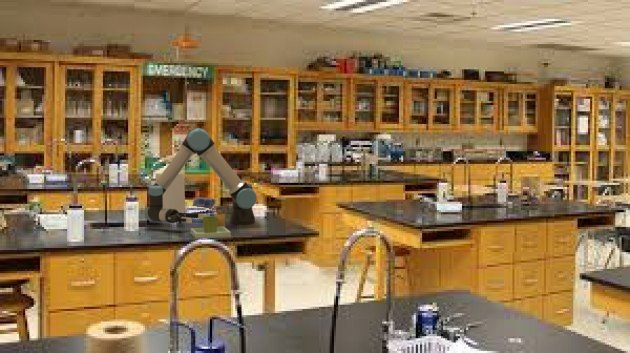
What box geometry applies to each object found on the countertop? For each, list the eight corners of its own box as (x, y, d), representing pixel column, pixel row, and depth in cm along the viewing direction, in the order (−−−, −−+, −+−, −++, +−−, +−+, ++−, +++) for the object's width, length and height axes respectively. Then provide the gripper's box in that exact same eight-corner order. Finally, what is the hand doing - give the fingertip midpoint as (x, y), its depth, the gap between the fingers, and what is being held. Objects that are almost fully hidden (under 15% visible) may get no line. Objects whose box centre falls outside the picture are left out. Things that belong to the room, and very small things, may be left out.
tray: (223, 232, 375) (223, 226, 375) (230, 237, 358) (230, 232, 358) (190, 233, 369) (190, 228, 369) (196, 239, 352) (196, 233, 352)
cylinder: (182, 221, 412) (181, 174, 410) (153, 220, 412) (152, 174, 410) (187, 216, 429) (187, 171, 427) (160, 216, 430) (159, 171, 427)
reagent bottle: (223, 229, 384) (223, 205, 383) (226, 230, 379) (226, 207, 377) (213, 229, 382) (213, 206, 381) (215, 231, 377) (215, 207, 375)
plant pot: (212, 231, 371) (212, 215, 370) (223, 234, 364) (223, 217, 364) (198, 234, 364) (197, 217, 363) (209, 236, 358) (208, 219, 357)
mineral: (196, 214, 438) (196, 198, 437) (191, 212, 446) (191, 197, 446) (218, 213, 445) (217, 197, 444) (212, 211, 453) (212, 196, 452)
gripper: (184, 219, 388) (214, 222, 377) (153, 225, 367) (184, 229, 356) (184, 206, 387) (214, 209, 377) (153, 211, 366) (184, 214, 355)
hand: (200, 218), depth 366 cm, fingers open, 13 cm apart
